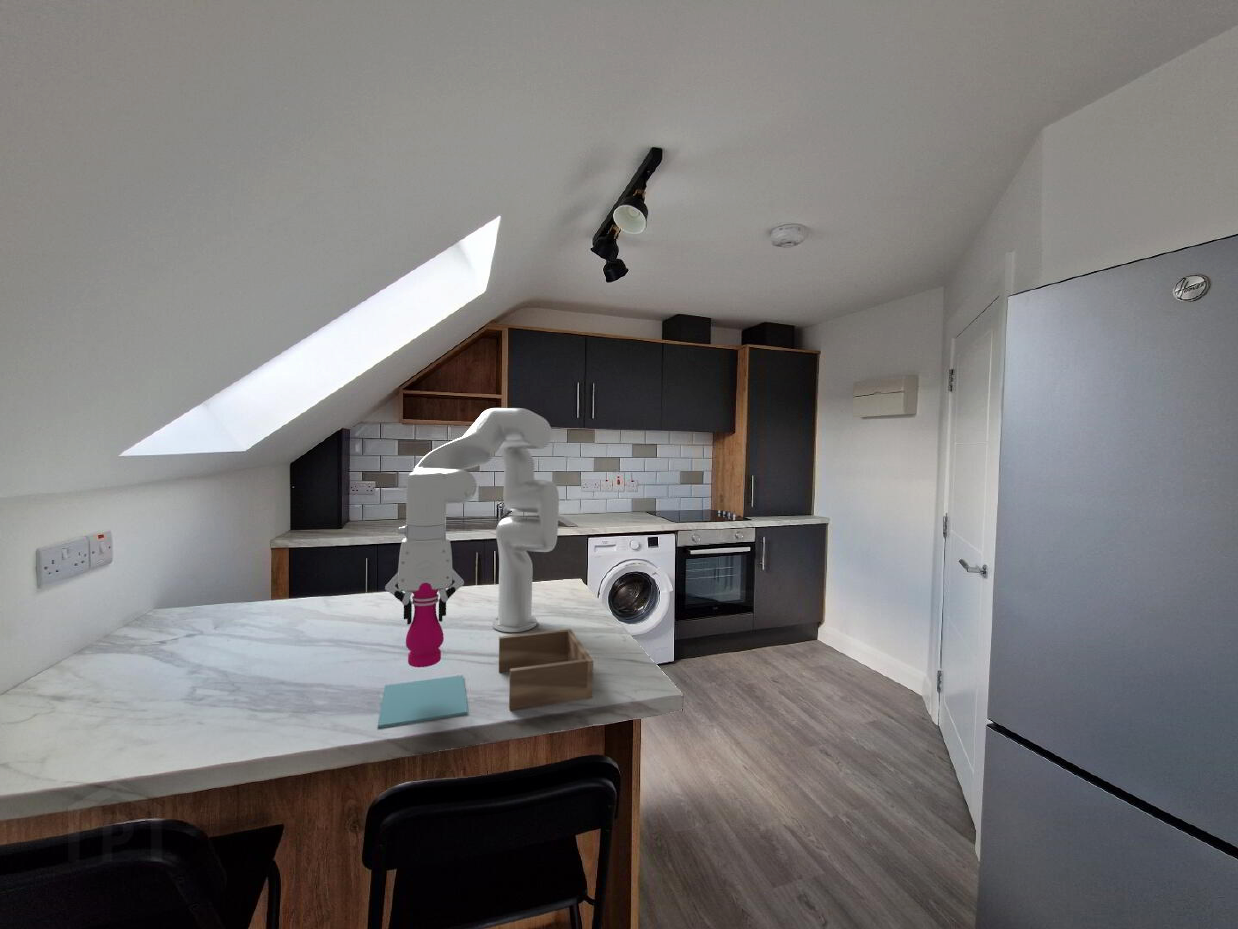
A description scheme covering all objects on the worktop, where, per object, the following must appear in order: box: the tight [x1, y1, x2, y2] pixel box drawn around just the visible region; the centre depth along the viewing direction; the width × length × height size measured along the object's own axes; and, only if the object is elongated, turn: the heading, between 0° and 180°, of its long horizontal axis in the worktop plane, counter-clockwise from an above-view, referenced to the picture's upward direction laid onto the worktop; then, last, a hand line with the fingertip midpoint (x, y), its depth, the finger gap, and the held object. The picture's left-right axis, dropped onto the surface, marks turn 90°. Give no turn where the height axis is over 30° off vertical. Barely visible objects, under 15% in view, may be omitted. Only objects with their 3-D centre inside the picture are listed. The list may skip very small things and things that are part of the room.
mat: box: [377, 674, 469, 729], centre depth 103 cm, size 16×16×1 cm
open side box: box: [498, 628, 594, 711], centre depth 112 cm, size 18×17×8 cm
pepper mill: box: [405, 583, 444, 668], centre depth 102 cm, size 7×7×20 cm
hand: (425, 620), depth 102 cm, fingers closed on pepper mill, 5 cm apart
